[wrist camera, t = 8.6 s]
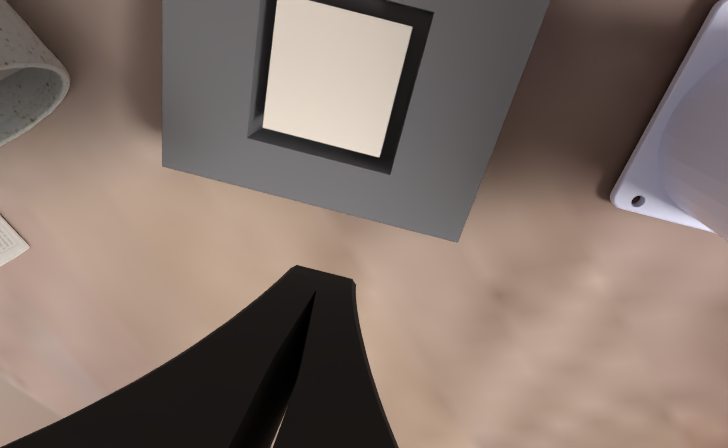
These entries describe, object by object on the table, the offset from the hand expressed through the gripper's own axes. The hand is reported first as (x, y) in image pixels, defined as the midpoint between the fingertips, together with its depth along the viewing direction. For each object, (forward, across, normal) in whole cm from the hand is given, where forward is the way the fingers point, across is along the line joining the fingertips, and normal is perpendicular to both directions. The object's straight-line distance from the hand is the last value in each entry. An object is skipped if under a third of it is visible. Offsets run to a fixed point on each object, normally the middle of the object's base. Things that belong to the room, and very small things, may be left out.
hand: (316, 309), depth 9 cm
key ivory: (+9, +2, -4) cm, 10 cm away
